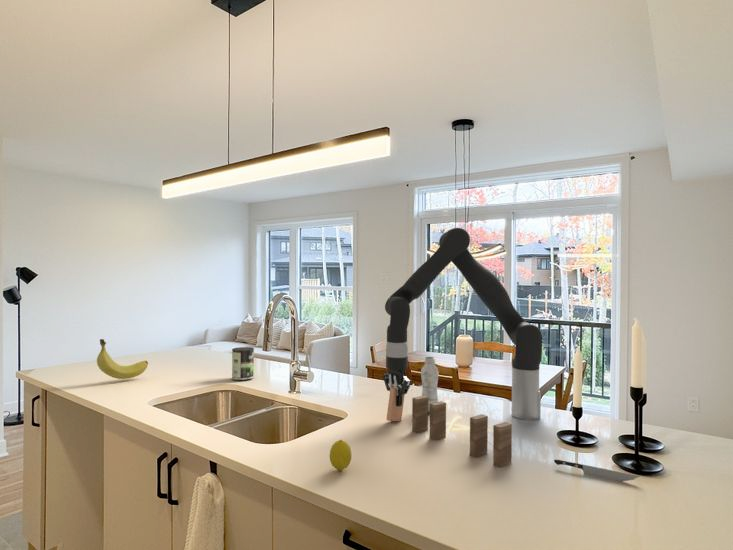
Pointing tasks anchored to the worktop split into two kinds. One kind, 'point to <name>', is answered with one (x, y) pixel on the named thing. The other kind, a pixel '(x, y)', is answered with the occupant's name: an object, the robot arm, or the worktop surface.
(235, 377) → the coffee can
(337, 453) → the lemon
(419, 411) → the domino
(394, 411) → the domino
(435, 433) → the domino
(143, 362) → the banana
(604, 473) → the chef's knife
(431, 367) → the plastic bottle
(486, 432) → the domino
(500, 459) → the domino
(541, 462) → the worktop surface
